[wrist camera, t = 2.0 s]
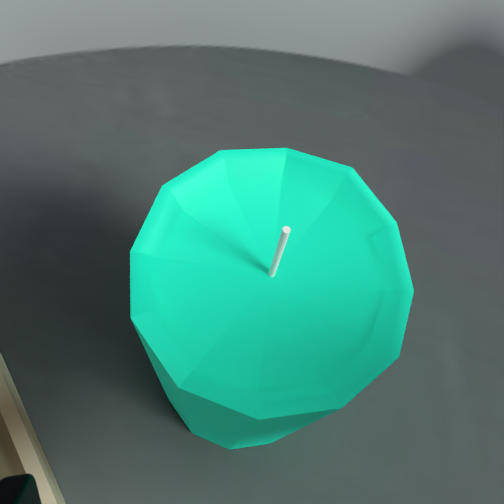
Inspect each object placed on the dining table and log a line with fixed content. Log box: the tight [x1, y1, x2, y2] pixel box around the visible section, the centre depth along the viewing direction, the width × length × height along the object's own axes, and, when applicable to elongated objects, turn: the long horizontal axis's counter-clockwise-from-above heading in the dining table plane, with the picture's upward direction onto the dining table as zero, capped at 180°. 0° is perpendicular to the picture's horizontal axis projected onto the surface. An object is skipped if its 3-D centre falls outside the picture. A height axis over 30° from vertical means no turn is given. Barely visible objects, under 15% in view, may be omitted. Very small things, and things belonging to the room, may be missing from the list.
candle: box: [130, 148, 414, 450], centre depth 14 cm, size 6×6×12 cm
